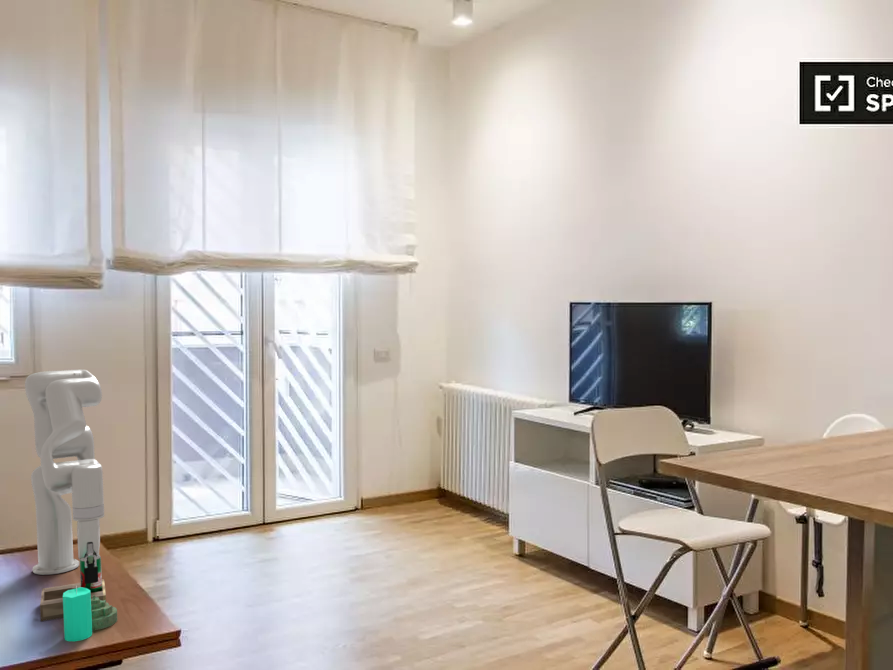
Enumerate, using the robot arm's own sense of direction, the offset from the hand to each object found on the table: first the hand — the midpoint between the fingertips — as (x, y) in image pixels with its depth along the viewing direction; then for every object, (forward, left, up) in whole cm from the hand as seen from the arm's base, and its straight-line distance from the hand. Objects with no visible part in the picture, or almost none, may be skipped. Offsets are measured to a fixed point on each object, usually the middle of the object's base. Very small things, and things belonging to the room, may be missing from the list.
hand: (91, 577), depth 211 cm
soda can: (0, 0, -6) cm, 6 cm away
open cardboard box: (0, -4, -7) cm, 8 cm away
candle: (+22, -3, -7) cm, 23 cm away
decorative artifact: (+15, 0, -7) cm, 17 cm away
